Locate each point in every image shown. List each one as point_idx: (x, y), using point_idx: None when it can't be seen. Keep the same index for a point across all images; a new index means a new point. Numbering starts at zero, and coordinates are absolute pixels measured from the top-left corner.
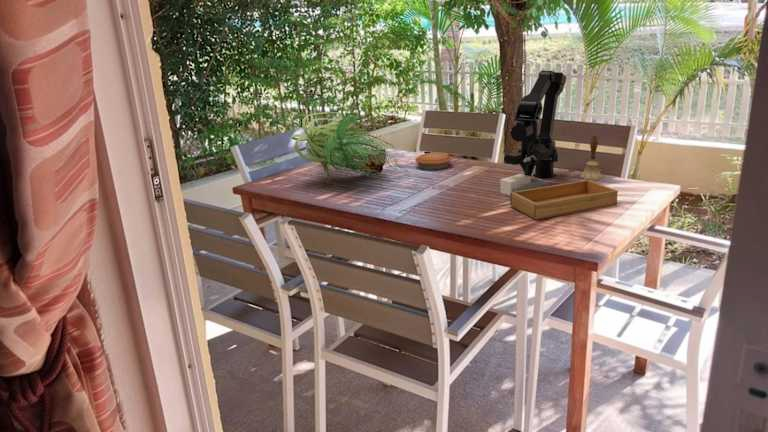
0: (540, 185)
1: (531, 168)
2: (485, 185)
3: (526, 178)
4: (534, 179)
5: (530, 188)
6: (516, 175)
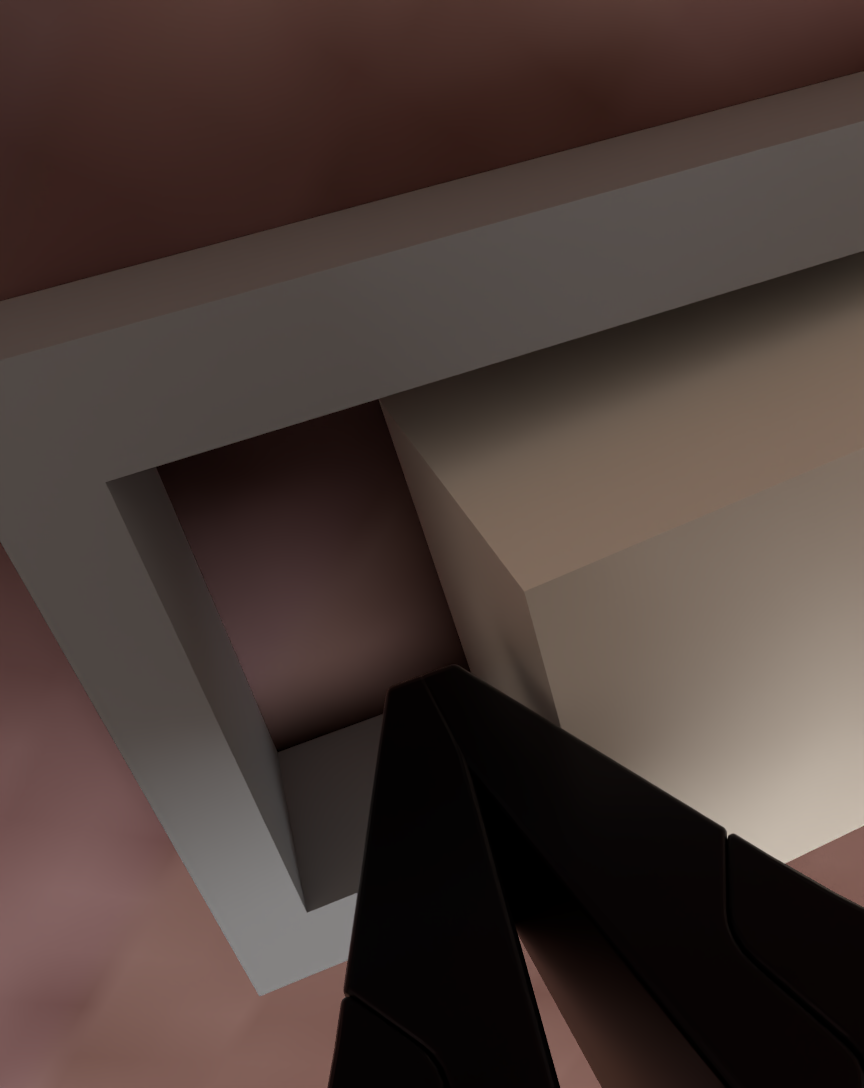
0: (94, 301)
1: (536, 1016)
2: (849, 869)
3: (743, 472)
4: (185, 683)
5: (557, 173)
6: (813, 817)
